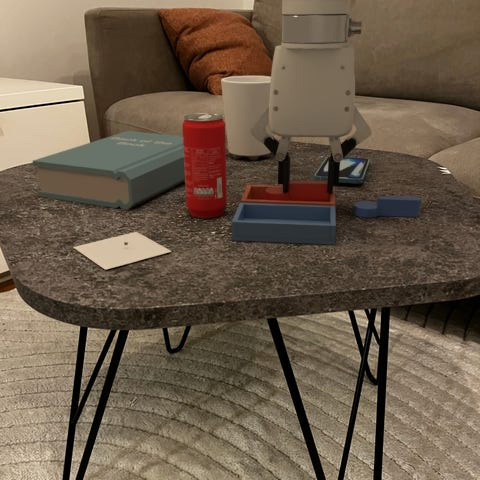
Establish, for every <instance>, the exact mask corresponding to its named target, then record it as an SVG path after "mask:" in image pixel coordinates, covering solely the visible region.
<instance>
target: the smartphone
mask: <svg viewBox="0 0 480 480" xmlns="http://www.w3.org/2000/svg"><path fill="white" fill-rule="evenodd" d="M329 158H330V155H329V156H326V157H325V159H324V160H323V161H322V163H321V164H320V166H319V167H318V169H317V170H316V172H315V173H314V174H313V181H327V178H328V161H329ZM370 163H371V158H367V157H353V156H345V157H344V158H343V159H342V161H341V162H340V172H339V184H341V183H342V184H355V185H356V184H359V185H360V184H363V183H364V180H365V177H366V175H367V172H368V170H369V167H370V165H371V164H370Z"/></svg>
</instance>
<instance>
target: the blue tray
mask: <svg viewBox="0 0 480 480" xmlns="http://www.w3.org/2000/svg"><path fill="white" fill-rule="evenodd" d="M336 231H337V214H336V205H335V206H325V205H295V204H266V203H241V202H239V204H238V206H237V209H236V211H235V213H234V216H233V218H232V220H231V241H233V242H254V243H255V242H257V243H259V242H261V243H280V244H283V243H284V244H304V245H305V244H309V245H331V246H332V245H334V246H335V245H336V233H337V232H336Z"/></svg>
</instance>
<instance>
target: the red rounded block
mask: <svg viewBox="0 0 480 480" xmlns="http://www.w3.org/2000/svg"><path fill="white" fill-rule="evenodd" d="M273 186H274V187H269V188H267V189H265V200H279V201H289V200H316V201H328V200H329V193H327V181H316V180H290V181H289V192H287V193H283V185H273Z"/></svg>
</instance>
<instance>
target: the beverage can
mask: <svg viewBox="0 0 480 480" xmlns="http://www.w3.org/2000/svg"><path fill="white" fill-rule="evenodd" d="M223 118H224V116H223V115H222V114H218V113H209V112H207V113H205V112H204V113H203V112H202V113H191V114H187V115H184V117H183V119H184V120H183V122H182V125H181V128H182V136H183V148H184V167H185V181H184V183H185V184H184V185H185V203H186V208H187V209H188V211H189V215H190V216H191V217H193V218H198V219H214V218H218V217H221V216H222V215H224V214H225V209H226V207H227V204H228V203H227V201H228V199H227V198H228V197H227V150H226V149H227V147H226V145H227V144H226V140H227V139H226V122H225V120H224V119H223Z"/></svg>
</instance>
